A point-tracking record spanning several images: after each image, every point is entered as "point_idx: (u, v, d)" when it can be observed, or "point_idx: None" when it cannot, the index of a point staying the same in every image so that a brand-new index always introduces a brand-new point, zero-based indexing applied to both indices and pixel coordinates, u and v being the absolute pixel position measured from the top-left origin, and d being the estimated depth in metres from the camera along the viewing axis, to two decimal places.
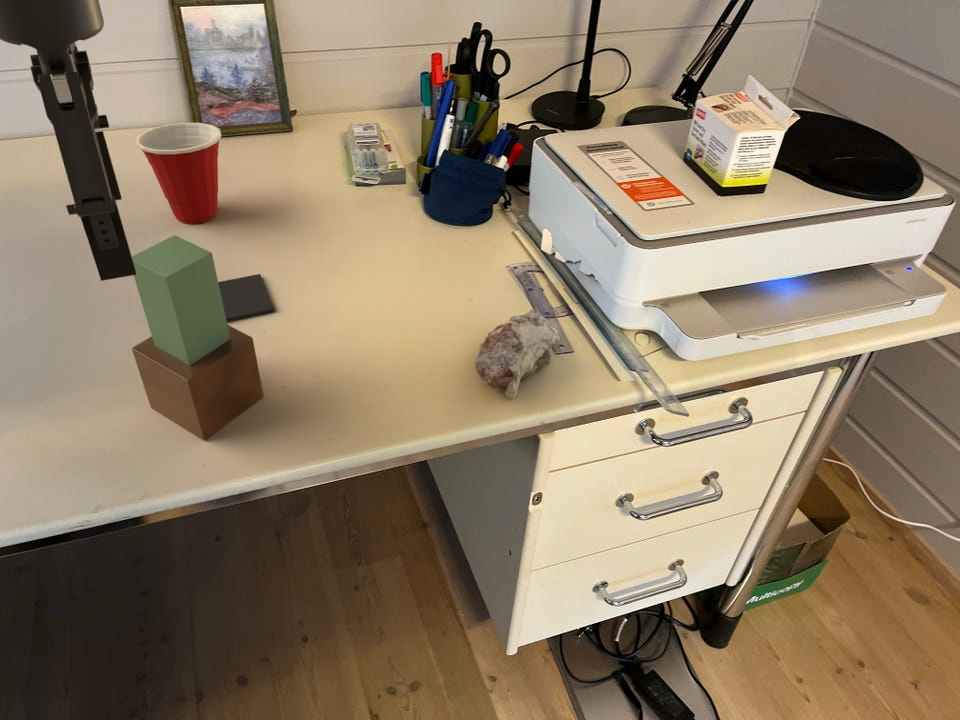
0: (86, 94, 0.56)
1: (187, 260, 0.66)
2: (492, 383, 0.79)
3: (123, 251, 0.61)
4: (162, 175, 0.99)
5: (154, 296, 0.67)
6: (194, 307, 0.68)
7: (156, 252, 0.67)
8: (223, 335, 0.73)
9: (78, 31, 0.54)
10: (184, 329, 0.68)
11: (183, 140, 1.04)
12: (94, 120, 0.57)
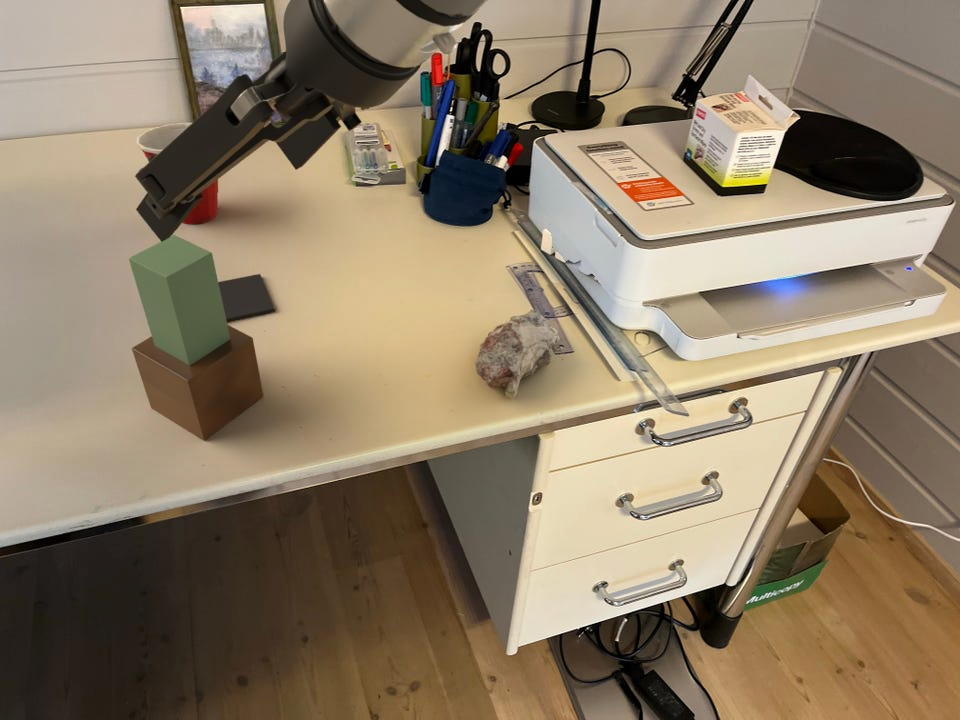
0: (289, 121, 0.45)
1: (187, 260, 0.66)
2: (492, 383, 0.79)
3: (168, 222, 0.50)
4: None
5: (154, 296, 0.67)
6: (194, 307, 0.68)
7: (156, 252, 0.67)
8: (223, 335, 0.73)
9: (332, 90, 0.42)
10: (184, 329, 0.68)
11: None
12: None
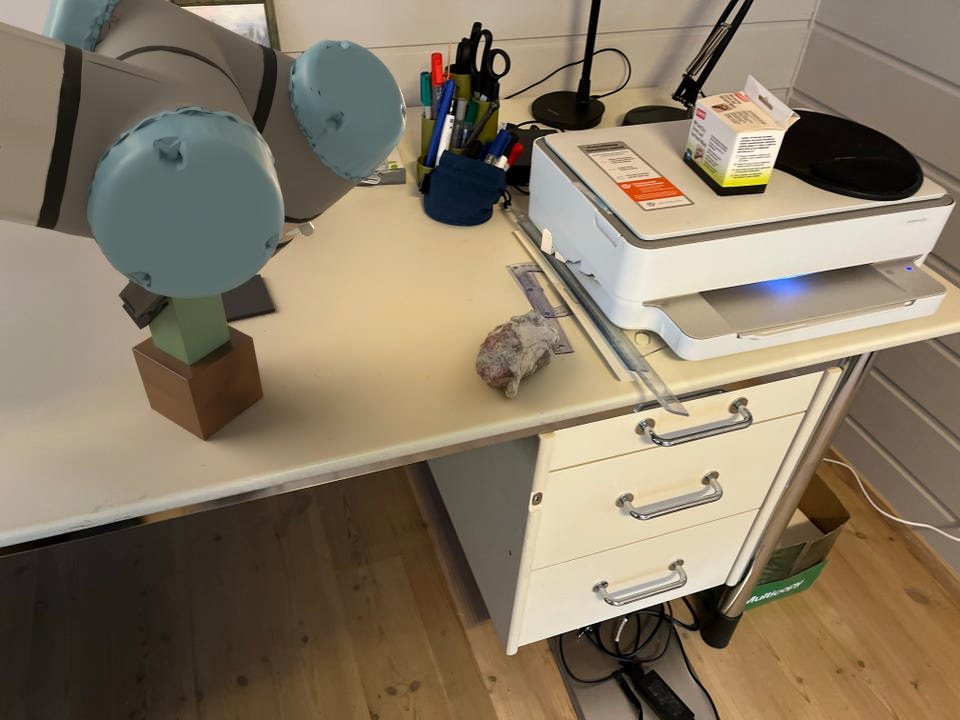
0: None
1: None
2: (492, 383, 0.79)
3: (144, 318, 0.69)
4: None
5: None
6: (194, 307, 0.68)
7: None
8: (223, 335, 0.73)
9: None
10: (184, 329, 0.68)
11: None
12: None
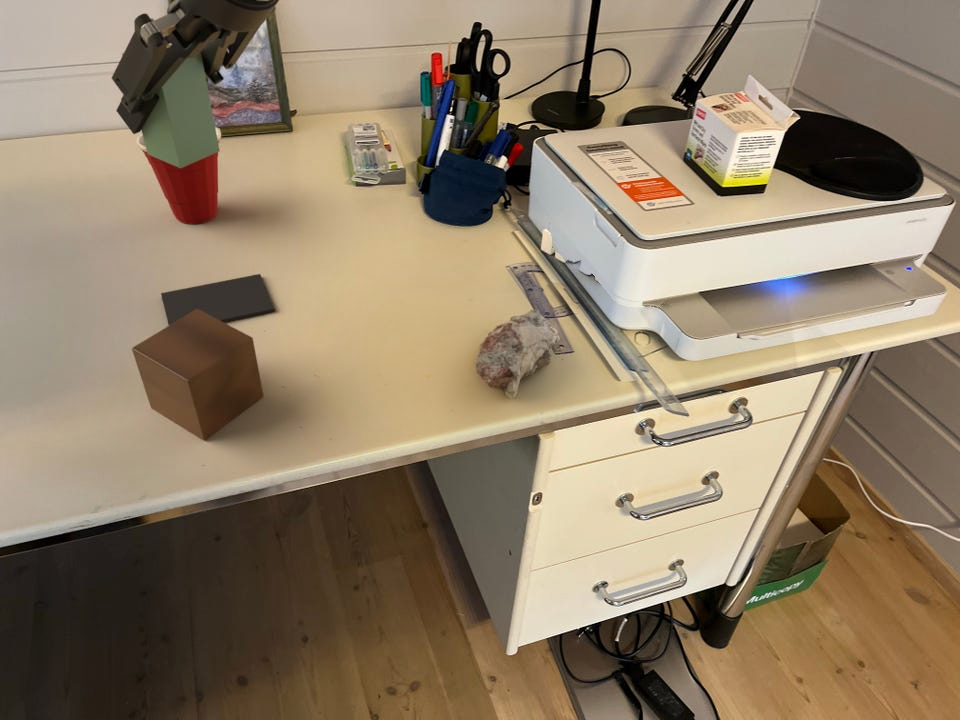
0: (191, 44, 0.64)
1: None
2: (492, 383, 0.79)
3: (137, 118, 0.72)
4: (162, 175, 0.99)
5: None
6: (184, 106, 0.72)
7: None
8: (213, 145, 0.76)
9: (211, 16, 0.60)
10: (174, 126, 0.72)
11: None
12: None
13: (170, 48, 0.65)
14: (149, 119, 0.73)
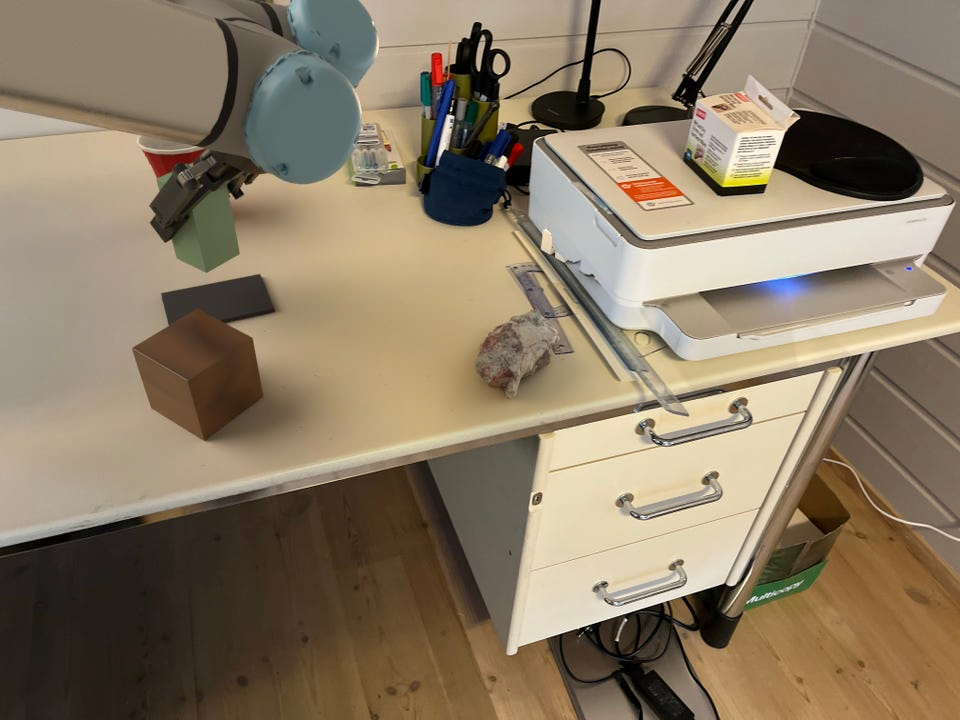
0: (219, 180, 0.74)
1: None
2: (492, 383, 0.79)
3: (169, 231, 0.82)
4: (162, 175, 0.99)
5: None
6: (210, 221, 0.82)
7: None
8: (234, 250, 0.86)
9: (238, 165, 0.70)
10: (201, 239, 0.82)
11: None
12: None
13: None
14: (179, 232, 0.83)
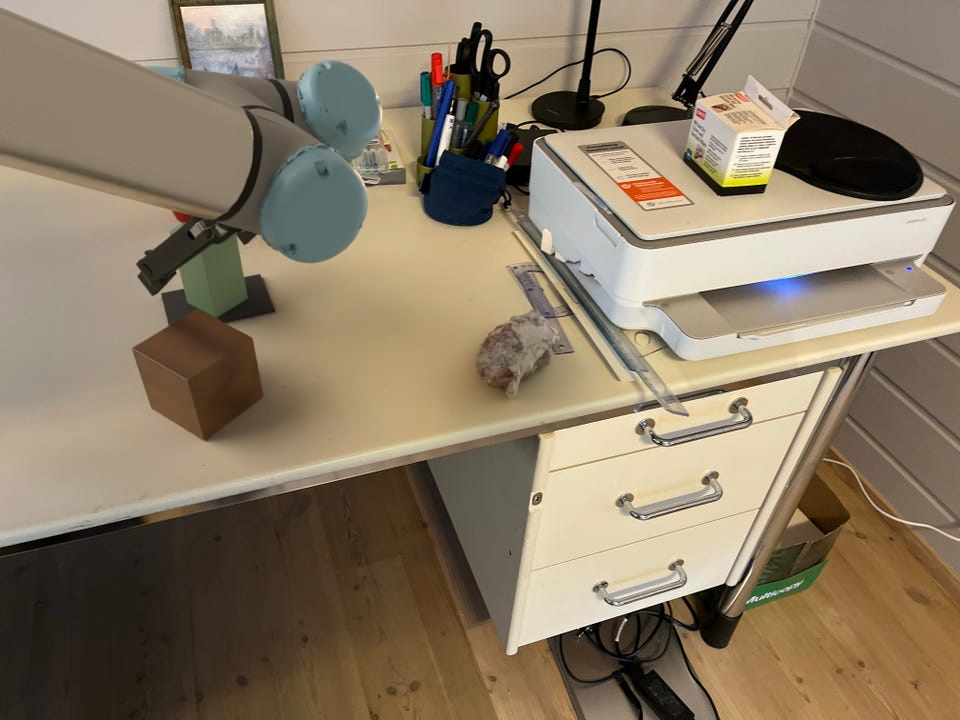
0: (226, 233, 0.77)
1: None
2: (492, 383, 0.79)
3: (156, 285, 0.82)
4: None
5: None
6: (220, 270, 0.86)
7: None
8: (242, 295, 0.90)
9: None
10: (212, 287, 0.86)
11: None
12: None
13: None
14: (190, 279, 0.87)
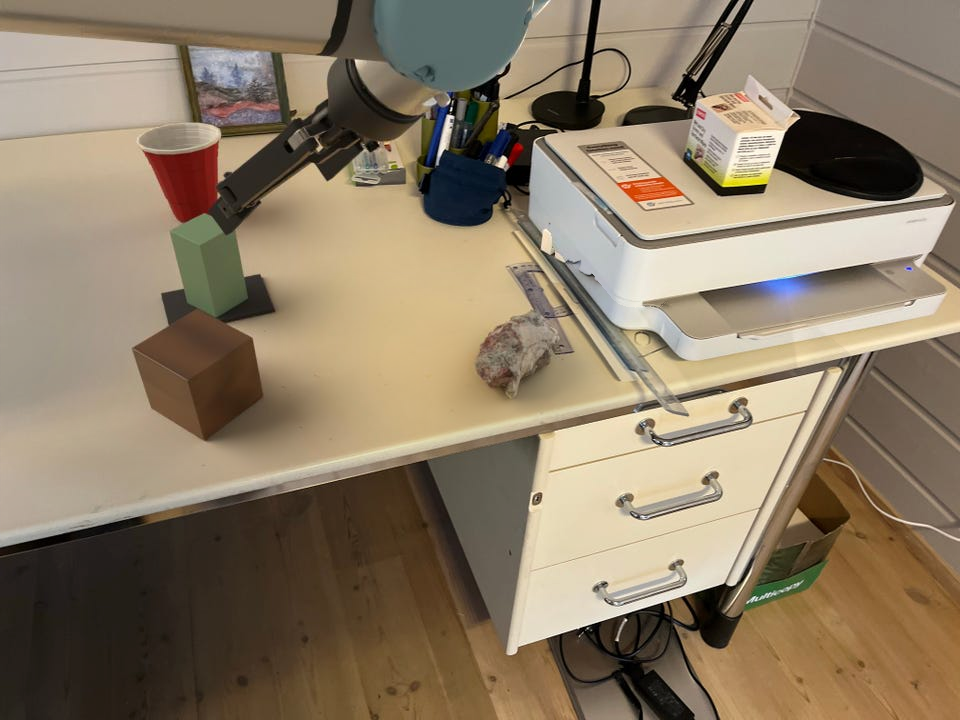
0: (327, 149, 0.61)
1: (215, 232, 0.84)
2: (492, 383, 0.79)
3: (233, 221, 0.67)
4: (162, 175, 0.99)
5: (189, 260, 0.85)
6: (220, 270, 0.86)
7: (191, 226, 0.85)
8: (242, 295, 0.90)
9: (361, 129, 0.58)
10: (212, 287, 0.86)
11: (183, 140, 1.04)
12: None
13: None
14: (190, 279, 0.87)
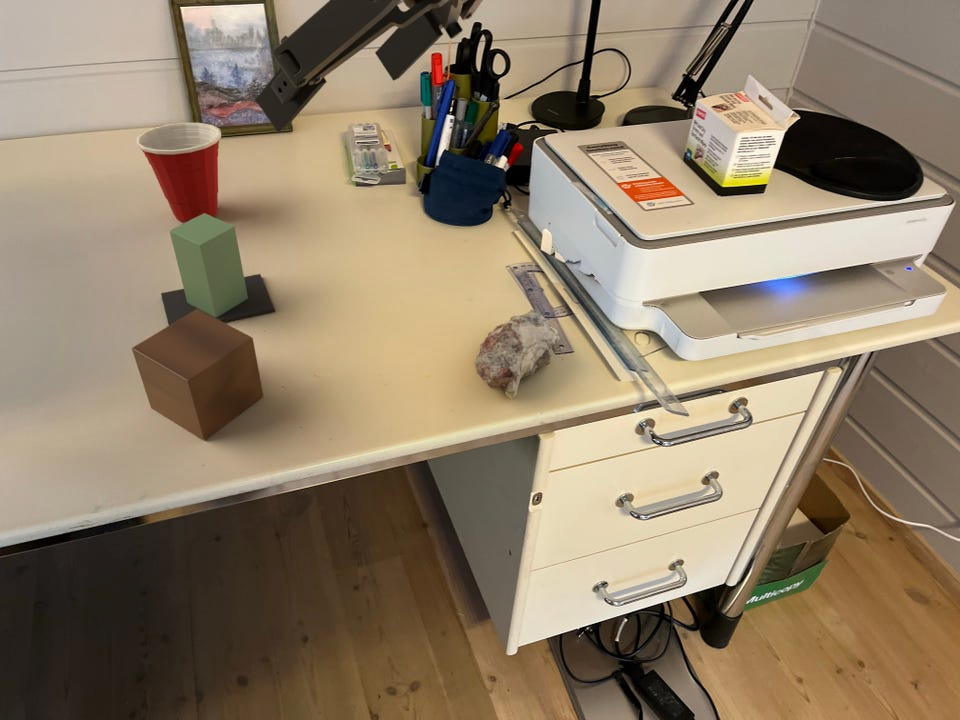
0: (415, 5, 0.48)
1: (215, 232, 0.84)
2: (492, 383, 0.79)
3: (288, 110, 0.53)
4: (162, 175, 0.99)
5: (189, 260, 0.85)
6: (220, 270, 0.86)
7: (191, 226, 0.85)
8: (242, 295, 0.90)
9: None
10: (212, 287, 0.86)
11: (183, 140, 1.04)
12: (395, 25, 0.49)
13: None
14: (190, 279, 0.87)
